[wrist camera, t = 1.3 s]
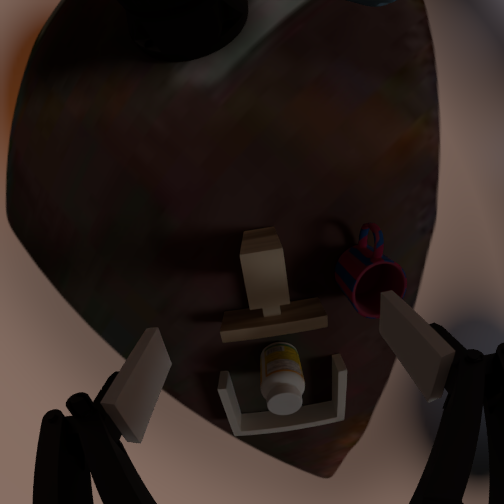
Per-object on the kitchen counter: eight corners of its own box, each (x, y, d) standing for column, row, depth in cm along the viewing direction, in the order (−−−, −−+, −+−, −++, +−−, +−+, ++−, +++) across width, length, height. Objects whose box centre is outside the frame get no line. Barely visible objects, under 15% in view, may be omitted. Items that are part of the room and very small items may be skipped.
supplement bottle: (272, 334, 36) (278, 382, 26) (305, 349, 36) (318, 396, 27) (252, 362, 37) (252, 410, 28) (284, 375, 38) (291, 423, 28)
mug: (332, 295, 34) (347, 320, 28) (338, 216, 32) (358, 227, 25) (378, 293, 34) (400, 316, 28) (387, 218, 31) (414, 228, 25)
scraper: (208, 237, 32) (188, 263, 23) (309, 220, 32) (333, 239, 22) (226, 321, 35) (218, 369, 25) (318, 307, 35) (339, 351, 25)
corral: (220, 371, 37) (217, 389, 34) (339, 353, 37) (347, 370, 33) (235, 418, 40) (234, 435, 36) (338, 403, 39) (344, 419, 36)
